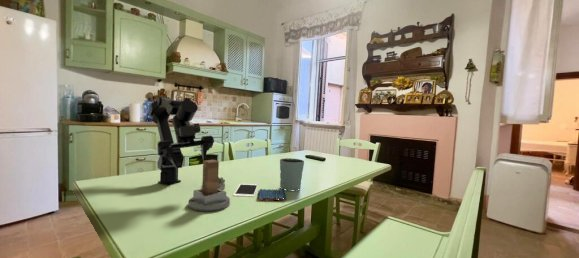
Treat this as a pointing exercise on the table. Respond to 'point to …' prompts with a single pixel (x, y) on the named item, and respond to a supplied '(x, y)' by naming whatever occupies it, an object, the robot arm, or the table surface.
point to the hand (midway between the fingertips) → (191, 166)
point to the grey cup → (291, 173)
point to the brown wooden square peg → (210, 177)
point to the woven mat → (271, 194)
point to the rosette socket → (208, 201)
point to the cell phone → (246, 190)
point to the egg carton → (221, 183)
